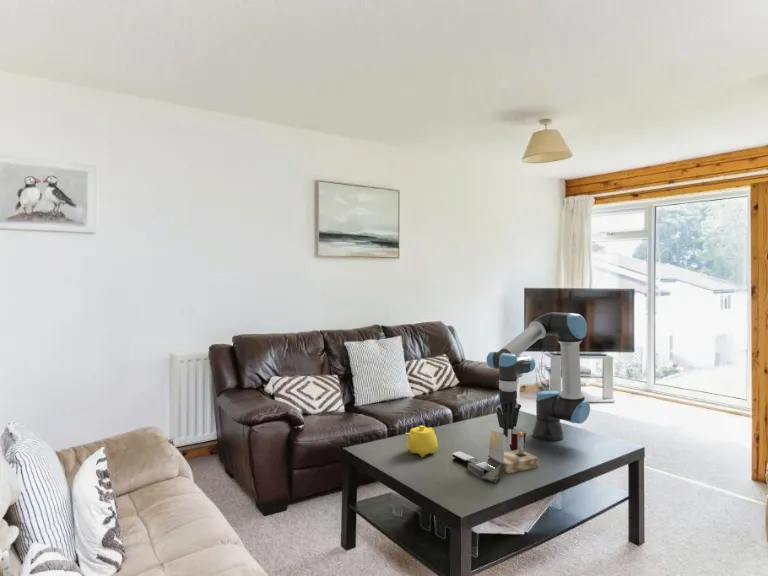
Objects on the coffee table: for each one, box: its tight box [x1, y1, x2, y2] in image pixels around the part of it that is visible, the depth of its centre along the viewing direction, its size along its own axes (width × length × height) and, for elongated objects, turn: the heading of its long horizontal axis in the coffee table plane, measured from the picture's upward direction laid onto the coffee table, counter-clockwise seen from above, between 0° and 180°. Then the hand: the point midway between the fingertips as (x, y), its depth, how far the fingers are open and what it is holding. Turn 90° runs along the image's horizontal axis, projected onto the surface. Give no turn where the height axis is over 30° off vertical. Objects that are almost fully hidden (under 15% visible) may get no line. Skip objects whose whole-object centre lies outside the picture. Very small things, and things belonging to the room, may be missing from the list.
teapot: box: [404, 425, 439, 458], centre depth 234 cm, size 14×20×13 cm
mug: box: [508, 428, 527, 451], centre depth 233 cm, size 10×8×10 cm
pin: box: [518, 432, 525, 457], centre depth 220 cm, size 3×3×14 cm
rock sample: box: [481, 464, 504, 484], centre depth 204 cm, size 10×8×9 cm
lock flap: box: [487, 428, 506, 465], centre depth 215 cm, size 1×10×13 cm, turn 25°
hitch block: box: [467, 450, 539, 479], centre depth 216 cm, size 30×12×4 cm, turn 115°
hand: (507, 443), depth 217 cm, fingers closed
